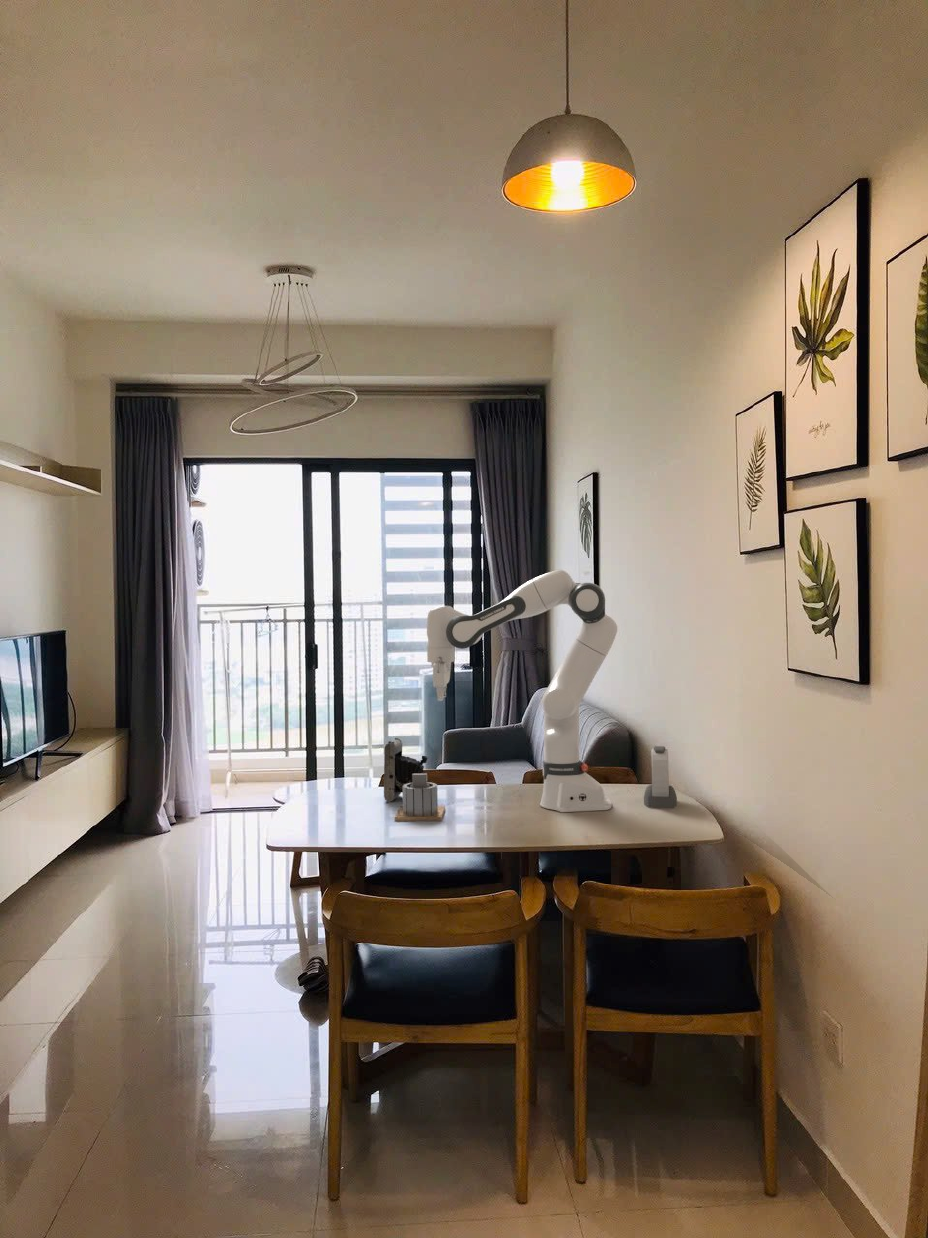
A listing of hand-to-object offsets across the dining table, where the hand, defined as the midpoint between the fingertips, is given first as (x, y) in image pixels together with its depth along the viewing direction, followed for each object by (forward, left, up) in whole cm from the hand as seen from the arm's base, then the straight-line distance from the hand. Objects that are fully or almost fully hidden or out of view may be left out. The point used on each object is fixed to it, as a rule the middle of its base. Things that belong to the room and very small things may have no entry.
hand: (441, 699), depth 286 cm
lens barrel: (+6, +15, -34) cm, 38 cm away
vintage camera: (+12, -7, -34) cm, 37 cm away
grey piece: (-69, +1, -34) cm, 77 cm away
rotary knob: (+6, +15, -27) cm, 31 cm away
